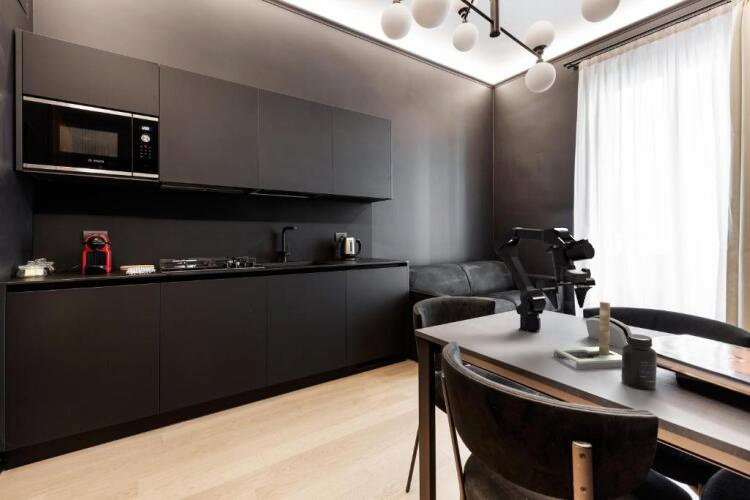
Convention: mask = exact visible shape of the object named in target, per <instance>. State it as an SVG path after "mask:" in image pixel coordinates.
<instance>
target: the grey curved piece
mask: <svg viewBox="0 0 750 500" xmlns="http://www.w3.org/2000/svg"><path fill="white" fill-rule="evenodd" d="M599 324H600V315H593V316H591V317H589V318H587V319H586V320H585V326H586V330H587V333H588V337H590V338H592V339H595V340H598V341H599ZM629 334H633V333H632V331H631V329H630V326H628V325H627V324H625V323H624V322H622V321H620V320H617V319H615V318H614V317H610V338H609V345H611V346H613V347H616V348H619V349H621V350H622V348H623V347H624V346H625V345H626V342H627V336H628V335H629Z"/></svg>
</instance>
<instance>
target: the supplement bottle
mask: <svg viewBox="0 0 750 500" xmlns="http://www.w3.org/2000/svg"><path fill="white" fill-rule="evenodd" d="M627 343H628V345H625V346H624V347H623V348H622V349H621V355H622V367H621V376H620V377H621V382H622V383H623V384H624V385H625V386H627V387H630V388H632V389H636V390H641V391H652V390H655V389H656V388H657V373H658V372H657V371H658V370H657V367H658V363H657V362H658V354H657V352H656V350H655V349H653V339H652V337H651V336H649V335H644V334H638V333H632V334H629V335H628V336H627Z"/></svg>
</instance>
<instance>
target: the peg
mask: <svg viewBox="0 0 750 500" xmlns="http://www.w3.org/2000/svg"><path fill="white" fill-rule="evenodd" d="M599 316H600V324H599V340H598V347H599V355H593V358H598V356H604V355H610V354H609V350H610V344H609V338H610V318H611V303H610V302H609V301H599Z"/></svg>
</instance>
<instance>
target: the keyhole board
mask: <svg viewBox="0 0 750 500" xmlns="http://www.w3.org/2000/svg"><path fill="white" fill-rule="evenodd" d="M553 350H554V351H553V353H554V354H553V356H554V357H556V358H562V357H564V358H567V359H569V360H570V361H573V362H575V366H576V369H578V370H592V369H608V368H609V369H610V368H622V354H619V353H617V352H614V351H612V350H610V349H609V355H604V356H598V358H594V357H593V358H592V357H591V358H578V357H582V356H583V357H584V356H595V355H599V346H586V347H585V346H584V347H583V346H582V347H564V348H554V349H553Z"/></svg>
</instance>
